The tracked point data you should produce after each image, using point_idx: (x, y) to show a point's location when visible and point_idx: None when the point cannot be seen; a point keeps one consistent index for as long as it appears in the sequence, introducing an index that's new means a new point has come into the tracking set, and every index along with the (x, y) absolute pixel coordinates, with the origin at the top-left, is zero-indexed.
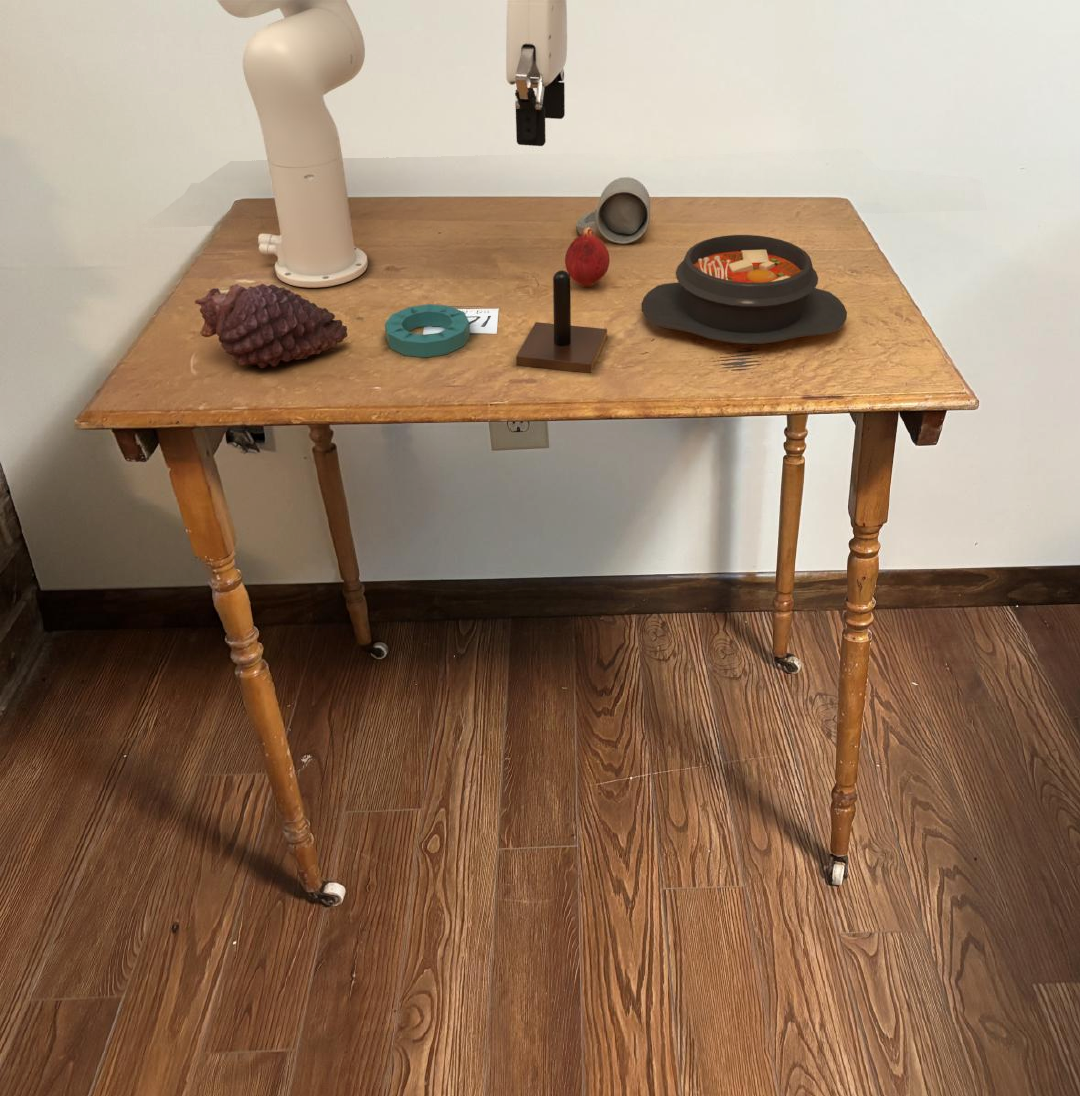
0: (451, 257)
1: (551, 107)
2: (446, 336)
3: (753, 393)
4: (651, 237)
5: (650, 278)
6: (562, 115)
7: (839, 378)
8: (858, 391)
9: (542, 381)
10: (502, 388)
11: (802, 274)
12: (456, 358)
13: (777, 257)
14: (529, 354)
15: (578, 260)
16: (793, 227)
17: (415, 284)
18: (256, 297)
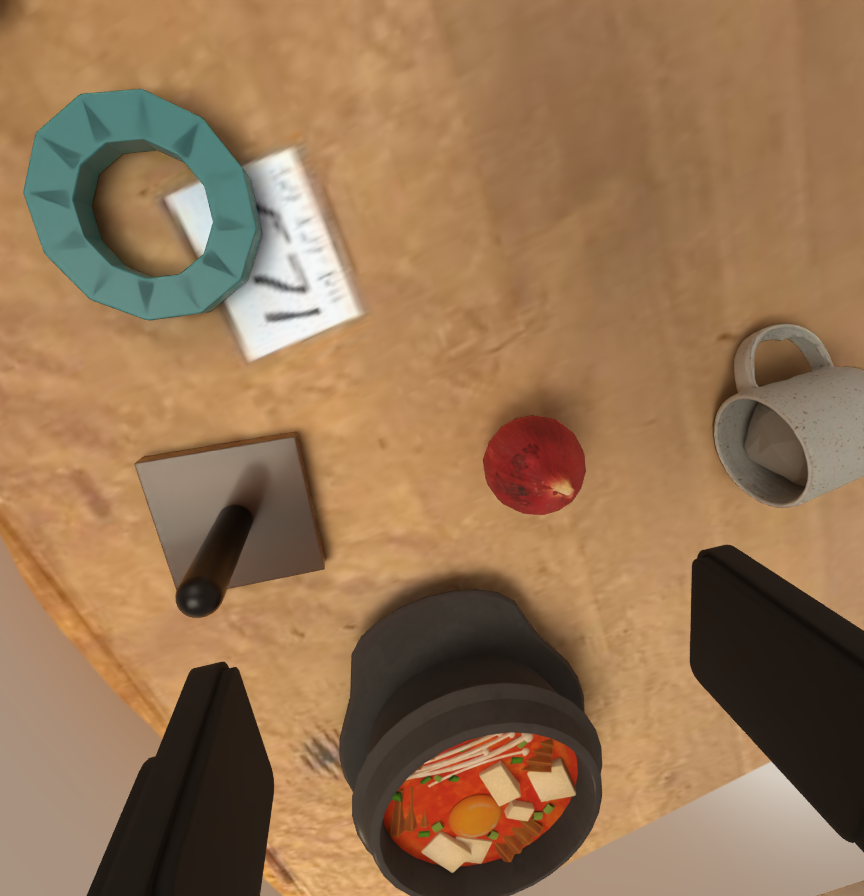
0: (581, 73)
1: (731, 663)
2: (104, 293)
3: None
4: None
5: (580, 537)
6: (704, 681)
7: (341, 864)
8: (315, 890)
9: (111, 526)
10: (42, 471)
11: None
12: (104, 327)
13: (564, 805)
14: (156, 484)
15: (495, 469)
16: None
17: (408, 42)
18: None
